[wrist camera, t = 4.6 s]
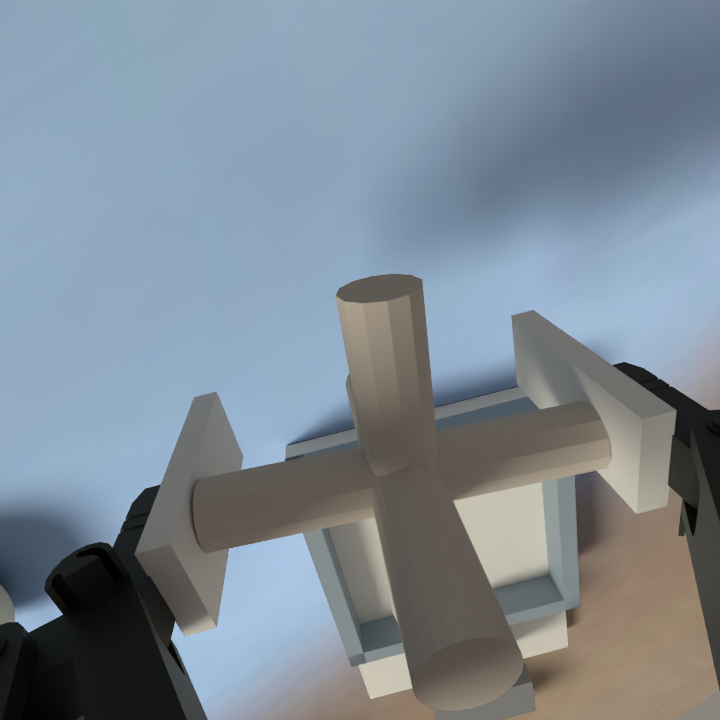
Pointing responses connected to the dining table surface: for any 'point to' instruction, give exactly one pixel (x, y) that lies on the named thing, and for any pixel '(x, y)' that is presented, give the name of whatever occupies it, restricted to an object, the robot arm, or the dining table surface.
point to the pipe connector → (410, 493)
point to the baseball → (6, 607)
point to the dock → (494, 549)
